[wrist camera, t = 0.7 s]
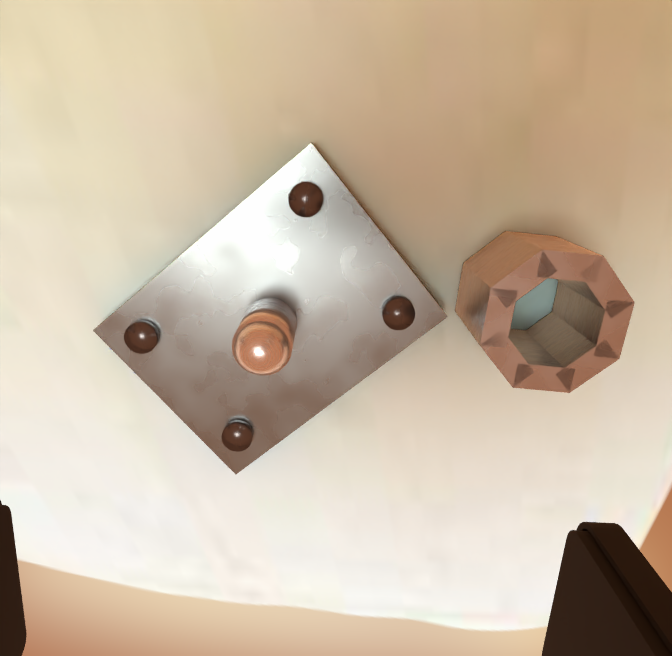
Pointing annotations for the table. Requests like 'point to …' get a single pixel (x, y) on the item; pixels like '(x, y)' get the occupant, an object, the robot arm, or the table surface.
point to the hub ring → (558, 326)
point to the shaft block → (272, 313)
